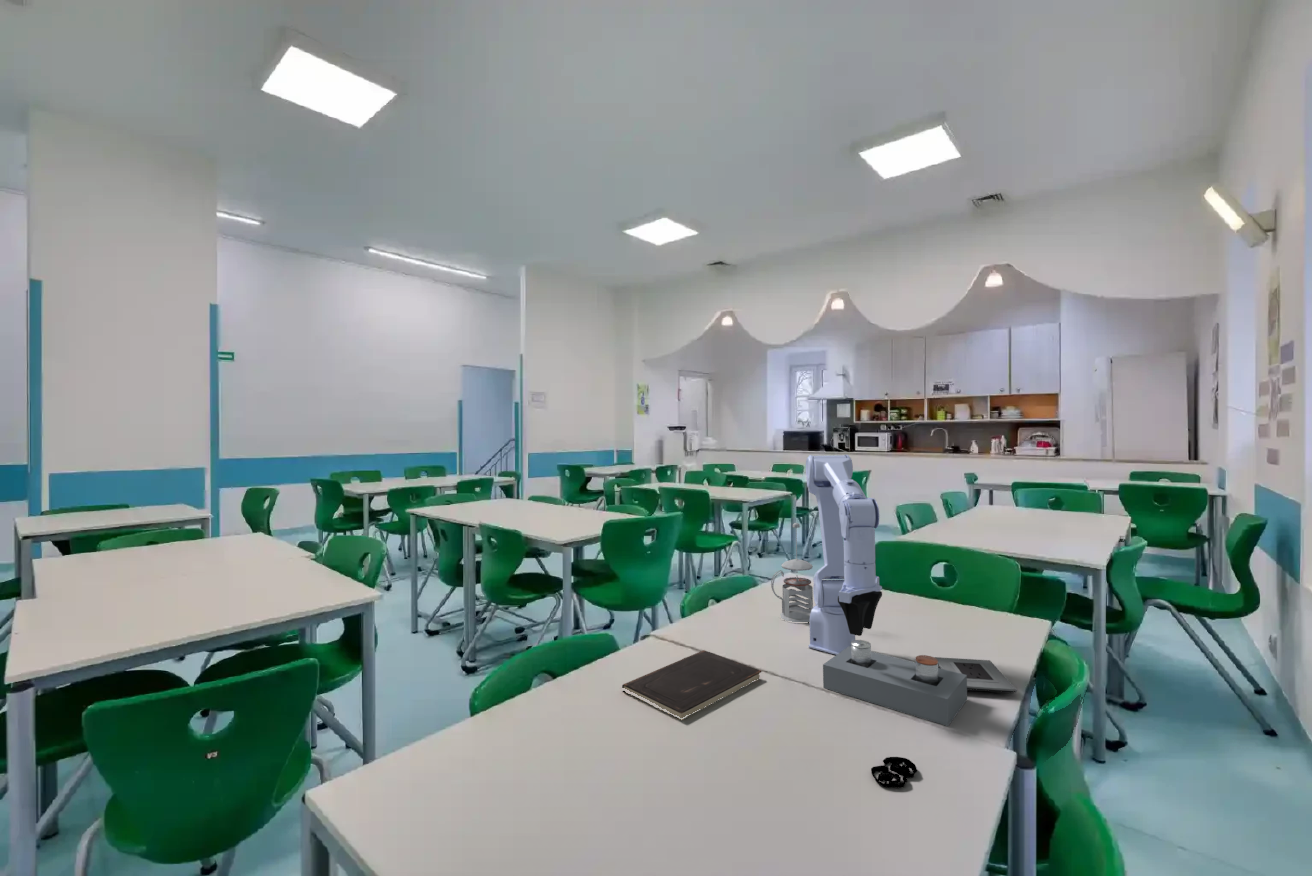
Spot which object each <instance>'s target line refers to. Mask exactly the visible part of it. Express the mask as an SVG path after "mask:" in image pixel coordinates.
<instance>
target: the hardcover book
mask: <svg viewBox="0 0 1312 876" xmlns="http://www.w3.org/2000/svg"><path fill="white" fill-rule="evenodd" d="M762 672H763V671H762V670H761V669H759V668H756V667H752V666H750V665H747V664H744V663H741V662H739V661H735V660H733V659H730V658H727V657H724V656H721V655H718V654H716V653H712V652H711V651H707V650H705V649H704V650H701V651H698V652H695V653H694V654H691V655H688V656H687V657H685V658H682V659H680V660H676V661H675V662H673V663H670V664H668V665H666V666H663V667H660V668H659V669H657V670H653V671H651V672H649V673H647V674H644V675H642V676H640V677H637V678H635V679H633V680H631V681H628V682H626V683H623V684H622V687H621V689H622V688H625V689H627V690H629V691H630V692H633V693H635V694H637V695H638V696H641V697H643V698H645V699H647V700H649V701H650V702H652V703H655V704H656V705H658V706H659V707H661V708H662V709H666V710H667V711H669V712H670V713H672V714H674V715H677V716H679V717H680V718H683V717H685V716H686V715H689V714H692V713H693V712H695V711H697V710H699V709H702V708H704V707H705V706H708V705H709V704H711V703H713V704H715V703H717V702H718V701H717V700H718V699H720V698H722V697H725V696H727V695H729V694H730V695H732V694H733V693H732V692H734V693H735V691H736V692H737V690H738V691H740V690H741V689H740V688H741V687H743V686H745V687H747V686H749V685H750V684H749V683H751V682H752V681H754V680H757V679H759V678H760V674H761V673H762ZM759 680H760V679H759ZM757 681H758V680H757ZM748 684H749V685H748ZM751 684H752V683H751ZM746 685H747V686H746ZM739 689H740V690H739ZM731 693H732V694H731ZM730 695H729V696H730ZM727 697H728V696H727ZM725 698H726V697H725ZM716 701H717V702H716ZM714 702H715V703H714ZM708 707H709V706H708ZM704 709H705V708H704ZM702 710H703V709H702Z"/></svg>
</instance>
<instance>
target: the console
mask: <svg viewBox="0 0 1312 876" xmlns="http://www.w3.org/2000/svg"><path fill="white" fill-rule="evenodd" d="M822 679H823V680H822V682H823V683H822V685H823V689H827V690H829V691H833V692H836V693H839V694H842V695H846V696H848V697H852V698H855V699H859V700H861V701H865V702H869V703H871V704H875V705H878V706H881V707H885V708H888V709H891V710H893V711H896V712H897V711H898V712H900V713H904V714H907V715H910V716H914V717H917V718H920V719H923V720H927V721H929V722H933V723H936V724H939V725H943V726H946V727H948V726H950V724H951V722H952V721H954V719H955V717H956V716H957V714H958V713H959V712H960V710H961V709H962V708H963V706H964V705H965V703H966V702H967V701H968V690H967V675H965V674H961V673H957V672H953V671H949V670H945V669H941V668H940V667H938V685H937V686H933V685H929V684H926V683H922V682H918V681H916V661H915V662H914V661H912V660H908V659H904V658H900V657H895V656H892V655H888V654H883V653H879V652H876V651H872V650H871V666H870V667H869V668H866V667H862V666H859V665H855V664H851V646H848V647H847V648H846V649H844V650H843V651H841V652H840V653H839V654H837V655H834V656H833V657H831V658H830V659H829V660H827V661H826V662H824V663H822Z"/></svg>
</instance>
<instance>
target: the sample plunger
mask: <svg viewBox="0 0 1312 876" xmlns="http://www.w3.org/2000/svg"><path fill="white" fill-rule="evenodd" d="M871 651H872V644H871V643H870V642H869V641H867V640H862V639H855V640H853V641H852V642H851V664H855V665H859V666H862V667H866V668H869V667H870V666H871Z"/></svg>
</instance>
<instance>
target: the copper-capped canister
mask: <svg viewBox="0 0 1312 876" xmlns="http://www.w3.org/2000/svg"><path fill="white" fill-rule="evenodd" d="M915 662H916V681H918V682H922V683H926V684H929V685H933V686H937V685H938V668H939V665H938V660H937V659H936V658H934V656H931V655H926V654H922V655H916V656H915Z"/></svg>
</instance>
